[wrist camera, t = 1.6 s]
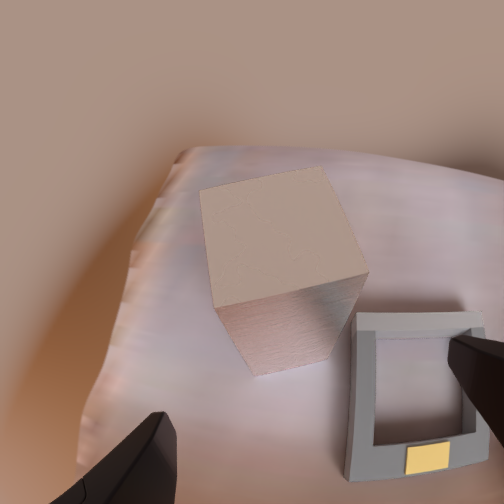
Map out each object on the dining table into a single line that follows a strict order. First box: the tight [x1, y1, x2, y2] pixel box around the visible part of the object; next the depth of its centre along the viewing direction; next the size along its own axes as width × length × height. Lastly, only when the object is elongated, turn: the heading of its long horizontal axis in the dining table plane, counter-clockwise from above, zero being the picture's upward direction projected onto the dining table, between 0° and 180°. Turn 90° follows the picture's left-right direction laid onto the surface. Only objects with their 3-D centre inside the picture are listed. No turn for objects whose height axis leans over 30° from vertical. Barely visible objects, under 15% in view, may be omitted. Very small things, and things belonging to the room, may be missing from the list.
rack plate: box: [343, 311, 490, 482], centre depth 17 cm, size 11×10×2 cm
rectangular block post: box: [199, 166, 369, 376], centre depth 16 cm, size 5×5×12 cm
